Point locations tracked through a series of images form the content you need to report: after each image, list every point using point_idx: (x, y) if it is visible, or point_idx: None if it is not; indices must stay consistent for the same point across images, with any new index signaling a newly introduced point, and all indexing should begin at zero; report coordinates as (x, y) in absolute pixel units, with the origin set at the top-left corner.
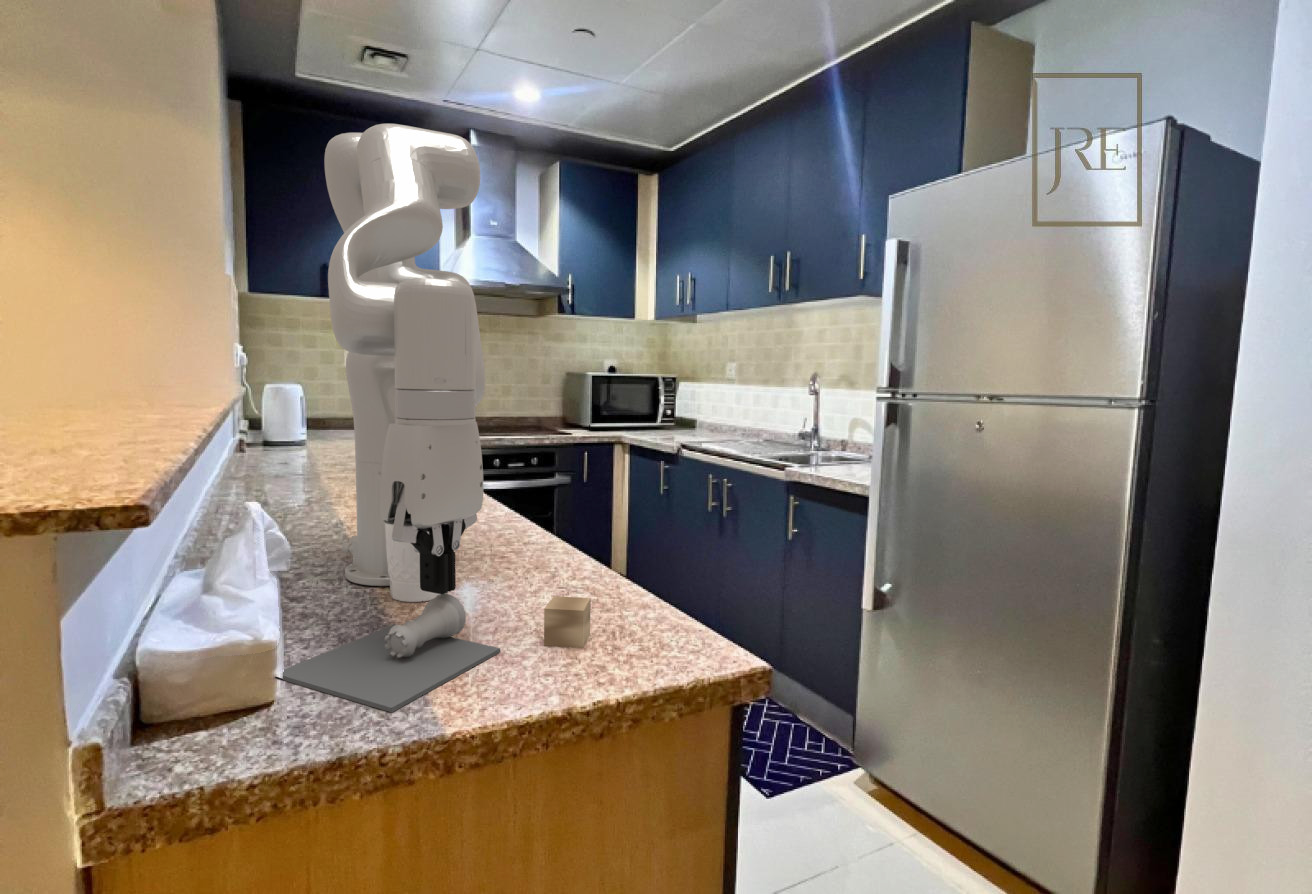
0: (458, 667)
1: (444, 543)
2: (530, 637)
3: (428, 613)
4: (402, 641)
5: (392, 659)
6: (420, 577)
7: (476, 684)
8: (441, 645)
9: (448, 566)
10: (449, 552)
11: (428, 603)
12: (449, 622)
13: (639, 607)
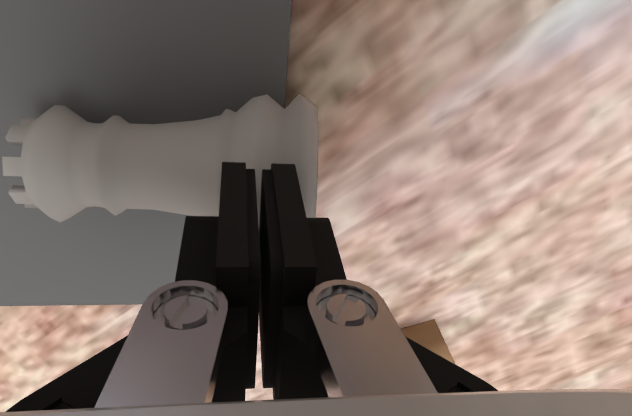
0: (122, 294)
1: (292, 398)
2: (383, 299)
3: (183, 196)
4: (25, 204)
5: None
6: (222, 185)
7: (100, 346)
8: None
9: (261, 341)
10: (276, 392)
11: (245, 153)
12: None
13: (627, 382)
